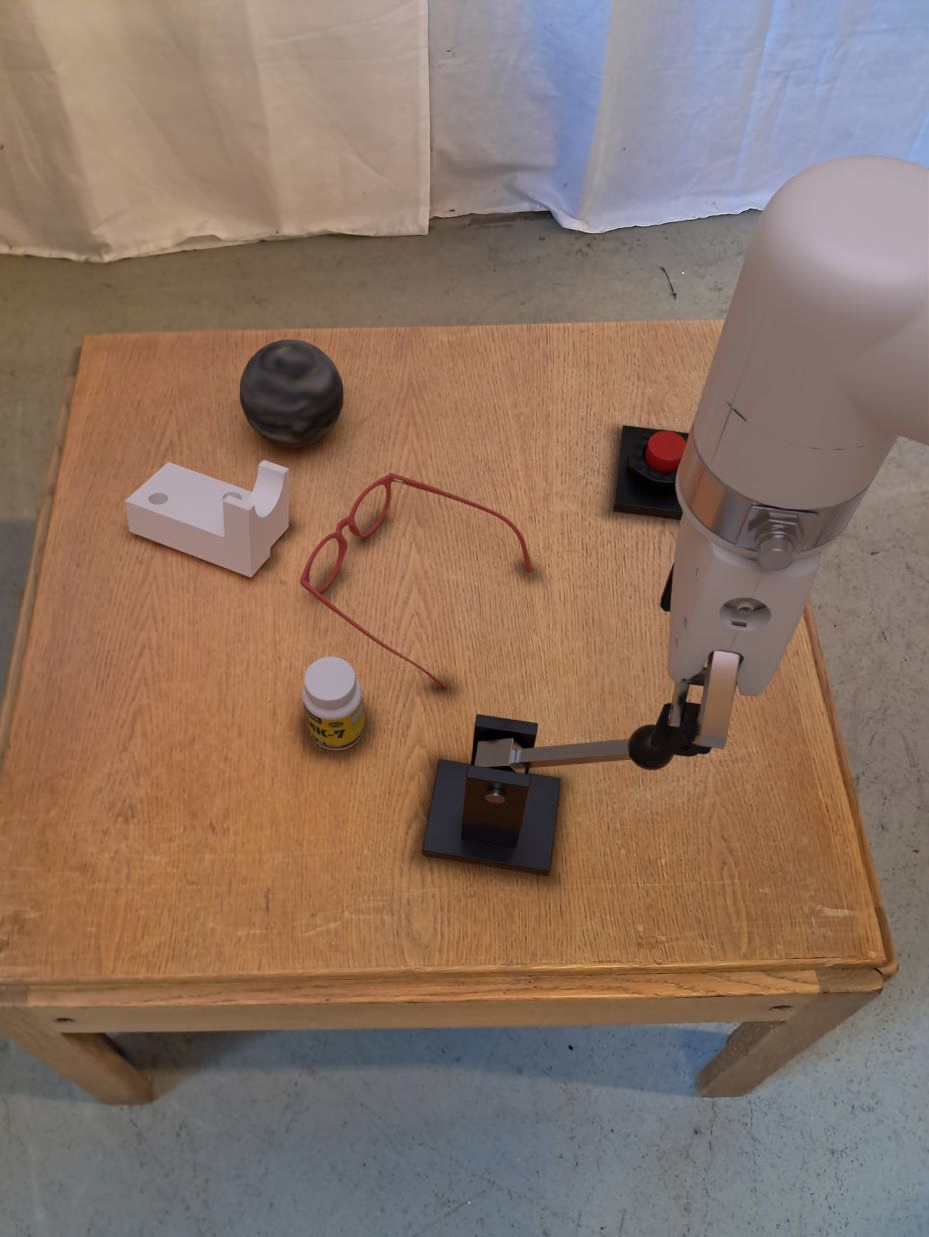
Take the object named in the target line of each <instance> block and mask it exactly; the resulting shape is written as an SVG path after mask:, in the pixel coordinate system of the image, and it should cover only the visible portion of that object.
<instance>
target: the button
mask: <svg viewBox="0 0 929 1237" xmlns="http://www.w3.org/2000/svg"><path fill="white" fill-rule="evenodd" d="M670 431H671V430H669V431H661V432H658V433H655V434H654V435H652V436H651V438H650V439H649V442H648V445H647V449H646V453H645V460H646V462H647V464H648V465H649V466H650V467H651V468H652V469H654V470H656V471H659V472H673V471H675V470H677V469H678V467H679V464H680V461H681V458H682V455H683V452H684V449H685V446H686V442H685V440H684V439H683V438H682V437H681V436H680V435H678V434H677V433H674V432H670Z"/></svg>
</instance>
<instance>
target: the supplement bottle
mask: <svg viewBox="0 0 929 1237" xmlns="http://www.w3.org/2000/svg"><path fill="white" fill-rule="evenodd" d="M354 670H355V669H353V667H352V665H351V664H350V663H349V662H348V661H347V660H345V659H343V658H340V657H338V656H324V657H321V658H318V659H317V660H314V661H313V662H312V663H310V665H309V666H308V667H307V669H306V671H305V673H304V678H303V682H304V684H303V687H302V690H301V692H302V693H301V699H302V703H303V708H304V712H305V717H306V722H307V727H308V731H309V734H310V737H311V739H312V740H313V741H314V742H315V743H316V745H318V746H319V747H322V748H324V749H326V750H329V751H342V750H347V749H349V748H351V747H353V746H354V745H355V744H357V743H358V742H359V741H360V739H361V738H362V736H363V734H364V732H365V729H366V728H365V727H366V720H365V709H364V698H363V697H364V696H363V690H362V685H361V683H360V681H359V679H358V678H357V676H356V673H355V671H354Z"/></svg>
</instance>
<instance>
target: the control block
mask: <svg viewBox="0 0 929 1237" xmlns="http://www.w3.org/2000/svg"><path fill="white" fill-rule="evenodd" d="M661 431H670V432H674V433H677V434H678V435H680V436H681V437H682V438H683V439H684V440H685V442H687V439H688V436H689V433H690V432H685V431H684V432H682V431H676V430H669V429H661V428H660V429H659V428H650V427H644V426H643V427H642V426H633V425H627V424H623V425H622V427H621V432H620V440H619V448H618V449H619V450H618V458H617V469H616V478H615V488H614V497H613V507H612V512H618V513H623V514H624V513H625V514H633V515H640V516H648V517H656V518H664V519H670V520H677V521H681V518H682V514H683V511H682V508H681V506H680V504H679V501H678V498H677V492H676V475H677V471H678V469H677V470H675V471H673V472H659V471H656V470H654V469H652V468H651V467H650V466H649V465H648V464H647V462H646V460H645V453H646V449H647V445H648V442H649V439H650V438H651V436H652V435H654V434H655V433H658V432H661Z"/></svg>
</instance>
